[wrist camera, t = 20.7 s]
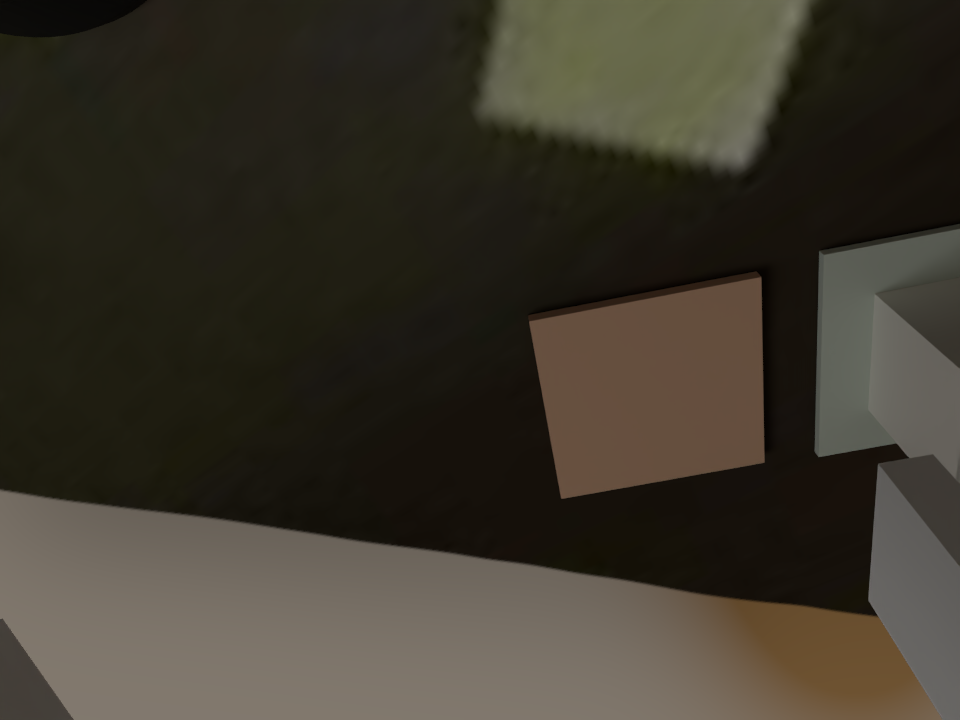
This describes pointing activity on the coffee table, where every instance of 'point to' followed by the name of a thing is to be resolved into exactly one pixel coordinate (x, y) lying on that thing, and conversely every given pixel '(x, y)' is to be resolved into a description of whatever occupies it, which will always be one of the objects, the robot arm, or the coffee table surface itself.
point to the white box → (918, 369)
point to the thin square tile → (653, 384)
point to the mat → (865, 325)
